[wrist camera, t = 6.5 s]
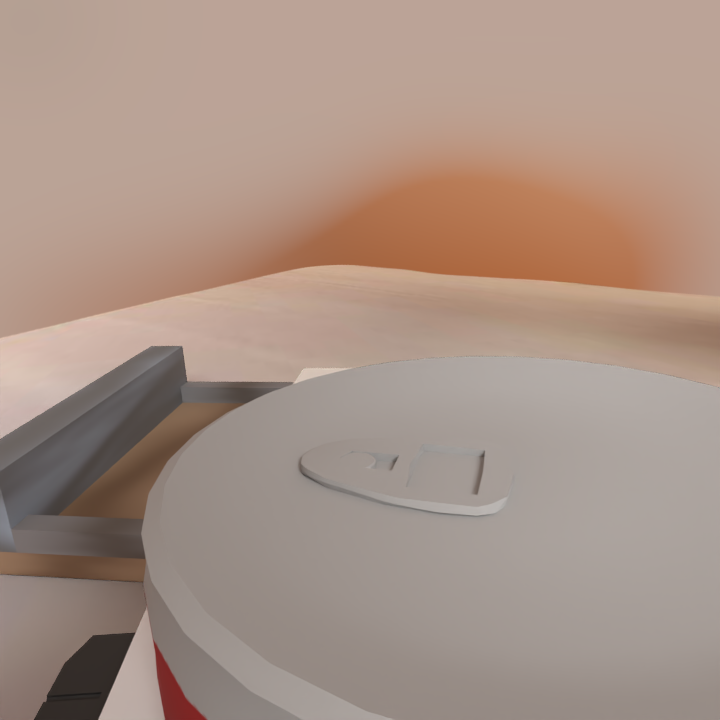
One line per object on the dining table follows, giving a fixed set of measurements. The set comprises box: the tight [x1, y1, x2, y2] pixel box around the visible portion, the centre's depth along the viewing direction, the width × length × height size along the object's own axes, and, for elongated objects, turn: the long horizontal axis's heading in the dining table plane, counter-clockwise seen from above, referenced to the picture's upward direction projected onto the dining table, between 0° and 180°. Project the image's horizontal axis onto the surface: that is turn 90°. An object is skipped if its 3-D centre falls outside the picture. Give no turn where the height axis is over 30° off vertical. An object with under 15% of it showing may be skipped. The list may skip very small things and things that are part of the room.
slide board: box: [0, 346, 294, 582], centre depth 28 cm, size 27×16×4 cm, turn 83°
